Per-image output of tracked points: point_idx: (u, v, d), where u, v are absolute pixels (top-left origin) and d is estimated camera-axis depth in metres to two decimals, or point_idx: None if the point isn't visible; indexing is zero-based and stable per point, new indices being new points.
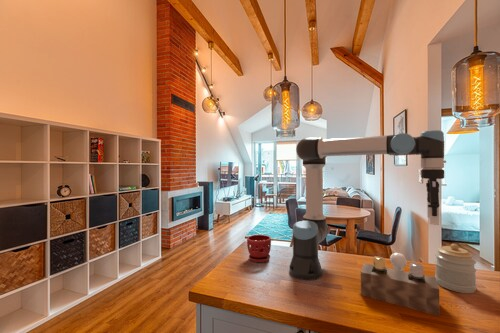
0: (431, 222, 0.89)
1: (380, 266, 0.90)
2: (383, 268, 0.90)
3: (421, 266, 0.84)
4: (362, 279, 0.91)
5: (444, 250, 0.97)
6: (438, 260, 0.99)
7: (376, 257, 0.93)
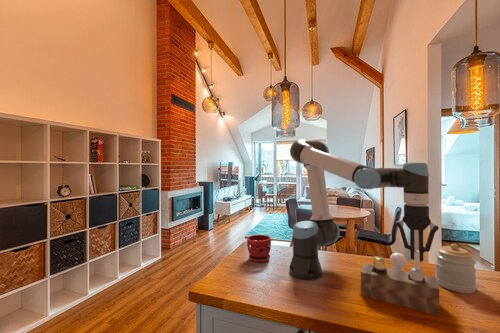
0: (414, 265, 0.86)
1: (380, 266, 0.90)
2: (383, 268, 0.90)
3: (421, 270, 0.84)
4: (362, 279, 0.91)
5: (444, 250, 0.97)
6: (438, 260, 0.99)
7: (376, 257, 0.93)
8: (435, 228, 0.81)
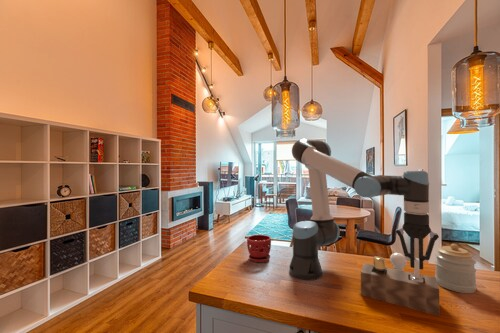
0: None
1: (380, 266, 0.90)
2: (383, 268, 0.90)
3: (421, 279, 0.84)
4: (362, 279, 0.91)
5: (444, 250, 0.97)
6: (438, 260, 0.99)
7: (376, 257, 0.93)
8: (435, 237, 0.81)
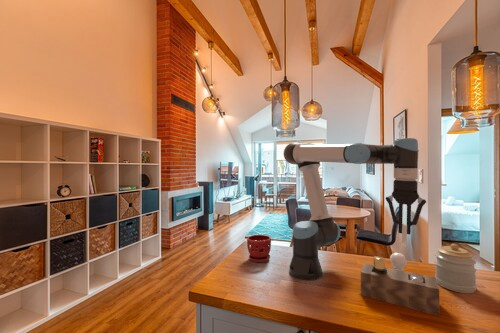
0: None
1: (380, 266, 0.90)
2: (383, 268, 0.90)
3: (421, 279, 0.84)
4: (362, 279, 0.91)
5: (444, 250, 0.97)
6: (438, 260, 0.99)
7: (376, 257, 0.93)
8: (423, 202, 0.83)
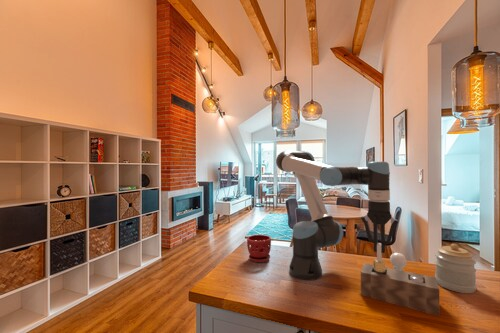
0: None
1: (380, 269, 0.90)
2: (383, 271, 0.90)
3: (421, 279, 0.84)
4: (362, 279, 0.91)
5: (444, 250, 0.97)
6: (438, 260, 0.99)
7: (376, 260, 0.93)
8: (395, 222, 0.88)
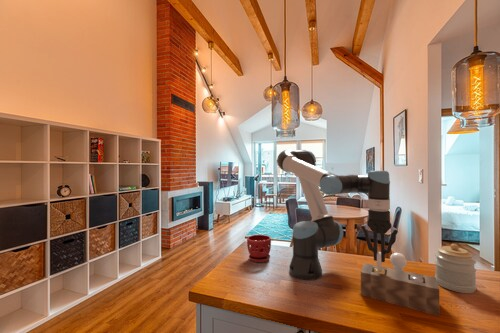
0: None
1: None
2: None
3: (421, 279, 0.84)
4: (362, 279, 0.91)
5: (444, 250, 0.97)
6: (438, 260, 0.99)
7: (376, 269, 0.93)
8: (395, 232, 0.88)
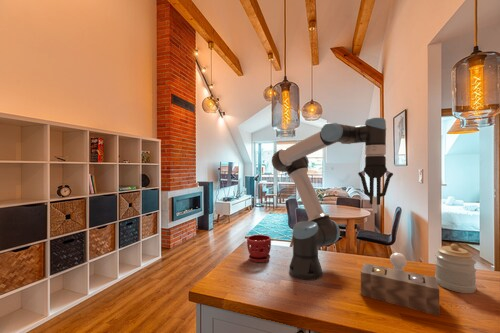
0: None
1: None
2: None
3: (421, 279, 0.84)
4: (362, 279, 0.91)
5: (444, 250, 0.97)
6: (438, 260, 0.99)
7: (376, 269, 0.93)
8: (390, 175, 0.92)
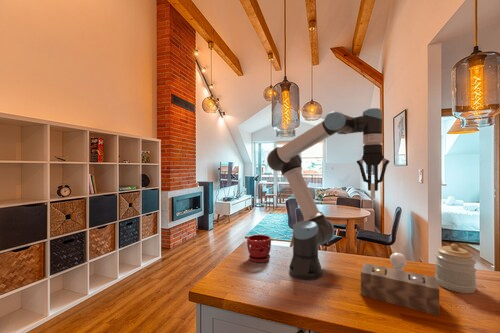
0: None
1: None
2: None
3: (421, 279, 0.84)
4: (362, 279, 0.91)
5: (444, 250, 0.97)
6: (438, 260, 0.99)
7: (376, 269, 0.93)
8: (386, 162, 0.98)
